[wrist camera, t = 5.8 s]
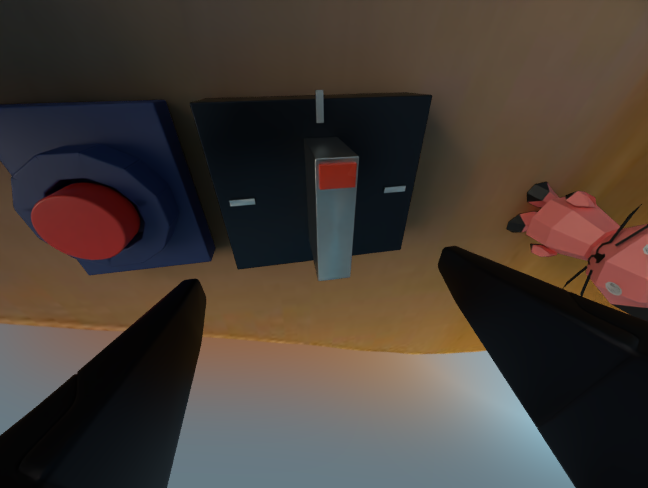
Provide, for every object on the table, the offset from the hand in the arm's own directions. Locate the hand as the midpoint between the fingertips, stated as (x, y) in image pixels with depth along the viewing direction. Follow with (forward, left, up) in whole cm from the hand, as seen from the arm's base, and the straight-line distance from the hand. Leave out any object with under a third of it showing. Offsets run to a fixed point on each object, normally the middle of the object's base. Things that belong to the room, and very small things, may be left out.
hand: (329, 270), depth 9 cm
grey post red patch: (+1, 0, -7) cm, 7 cm away
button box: (-11, 0, -10) cm, 15 cm away
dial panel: (+1, 0, -10) cm, 10 cm away
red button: (-11, 0, -7) cm, 13 cm away
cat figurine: (+21, -5, -10) cm, 24 cm away
